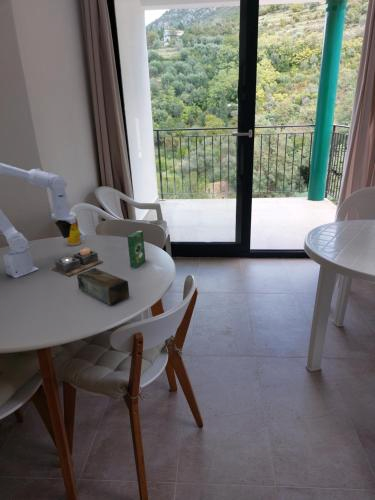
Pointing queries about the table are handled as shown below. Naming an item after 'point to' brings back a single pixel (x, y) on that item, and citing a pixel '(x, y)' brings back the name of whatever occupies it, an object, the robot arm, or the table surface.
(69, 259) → the aluminium plug
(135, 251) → the coffee box
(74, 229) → the beer can
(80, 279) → the beverage carton
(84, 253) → the terracotta plug
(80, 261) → the socket board
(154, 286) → the table surface
